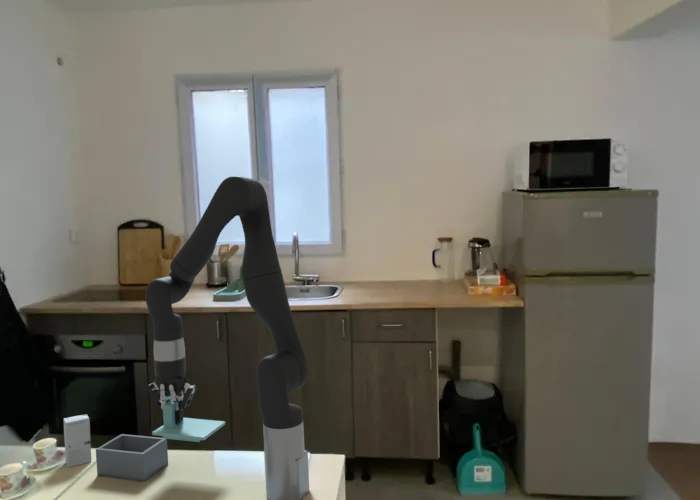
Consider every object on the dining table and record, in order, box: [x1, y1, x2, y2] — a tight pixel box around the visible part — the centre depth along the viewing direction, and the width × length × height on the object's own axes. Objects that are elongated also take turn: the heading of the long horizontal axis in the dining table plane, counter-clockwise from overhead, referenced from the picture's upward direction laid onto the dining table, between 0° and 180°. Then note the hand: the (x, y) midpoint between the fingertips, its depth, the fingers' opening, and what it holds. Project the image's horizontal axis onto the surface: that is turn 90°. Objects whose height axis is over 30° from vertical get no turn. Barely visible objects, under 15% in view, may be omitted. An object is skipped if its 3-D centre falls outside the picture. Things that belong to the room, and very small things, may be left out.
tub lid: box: [151, 399, 226, 443], centre depth 145 cm, size 14×10×8 cm
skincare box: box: [63, 413, 92, 468], centre depth 156 cm, size 6×4×12 cm
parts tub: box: [95, 433, 169, 483], centre depth 150 cm, size 14×10×7 cm
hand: (173, 422), depth 147 cm, fingers closed on tub lid
